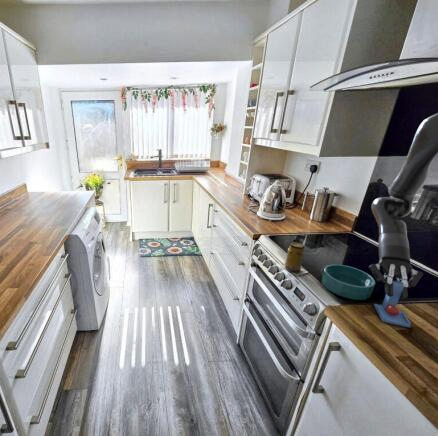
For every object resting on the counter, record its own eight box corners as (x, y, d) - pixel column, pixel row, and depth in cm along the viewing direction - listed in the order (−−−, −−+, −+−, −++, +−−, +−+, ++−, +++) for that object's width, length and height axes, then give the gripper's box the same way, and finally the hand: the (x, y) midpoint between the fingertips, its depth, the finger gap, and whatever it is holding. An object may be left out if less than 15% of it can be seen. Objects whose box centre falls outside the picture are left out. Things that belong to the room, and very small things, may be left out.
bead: (396, 316, 80) (396, 306, 80) (401, 317, 77) (402, 307, 77) (383, 313, 81) (384, 303, 82) (388, 314, 78) (389, 304, 79)
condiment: (291, 263, 112) (296, 240, 108) (308, 272, 105) (314, 248, 100) (279, 266, 110) (284, 243, 106) (296, 276, 102) (301, 251, 98)
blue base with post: (373, 305, 85) (383, 279, 81) (398, 310, 82) (409, 283, 78) (382, 321, 78) (393, 293, 74) (409, 327, 75) (423, 299, 71)
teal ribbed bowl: (363, 281, 97) (367, 269, 95) (376, 305, 85) (381, 291, 82) (318, 273, 104) (321, 261, 102) (324, 294, 91) (328, 281, 89)
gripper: (372, 241, 84) (374, 290, 78) (427, 248, 78) (434, 302, 72) (363, 247, 90) (364, 293, 84) (414, 255, 84) (418, 304, 78)
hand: (396, 297), depth 78 cm, fingers closed on blue base with post, 2 cm apart
